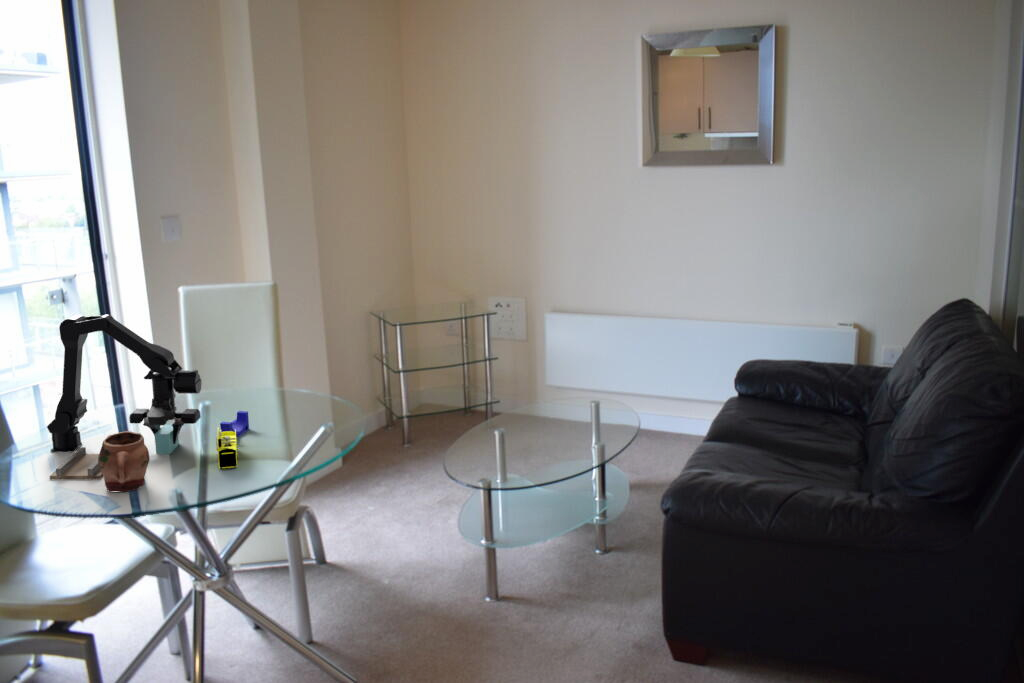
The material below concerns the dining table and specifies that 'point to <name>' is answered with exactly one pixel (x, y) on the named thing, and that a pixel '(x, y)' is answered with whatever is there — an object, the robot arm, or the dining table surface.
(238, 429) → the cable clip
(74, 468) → the rail board
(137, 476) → the decorative planter
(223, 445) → the yellow toy chassis
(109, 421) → the dining table surface
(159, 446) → the teal rectangular block
